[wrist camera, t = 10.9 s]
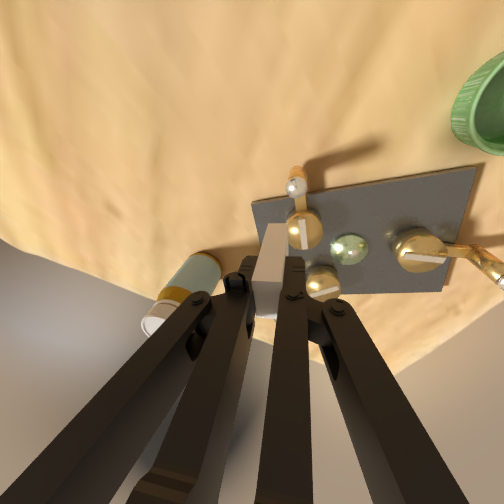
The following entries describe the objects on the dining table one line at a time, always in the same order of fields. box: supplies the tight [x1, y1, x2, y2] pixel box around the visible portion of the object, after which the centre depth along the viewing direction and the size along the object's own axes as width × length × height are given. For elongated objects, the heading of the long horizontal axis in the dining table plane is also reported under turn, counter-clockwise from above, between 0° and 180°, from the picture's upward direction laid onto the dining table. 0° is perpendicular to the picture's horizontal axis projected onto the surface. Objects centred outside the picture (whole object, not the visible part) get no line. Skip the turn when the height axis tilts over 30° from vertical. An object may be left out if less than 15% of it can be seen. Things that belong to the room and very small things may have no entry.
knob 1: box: [286, 166, 323, 250], centre depth 26 cm, size 11×5×7 cm, turn 13°
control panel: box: [251, 166, 477, 294], centre depth 31 cm, size 26×18×2 cm
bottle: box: [141, 253, 222, 337], centre depth 34 cm, size 7×7×15 cm
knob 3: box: [391, 228, 504, 290], centre depth 25 cm, size 11×5×7 cm, turn 89°
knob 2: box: [274, 266, 341, 322], centre depth 33 cm, size 10×5×7 cm, turn 123°
